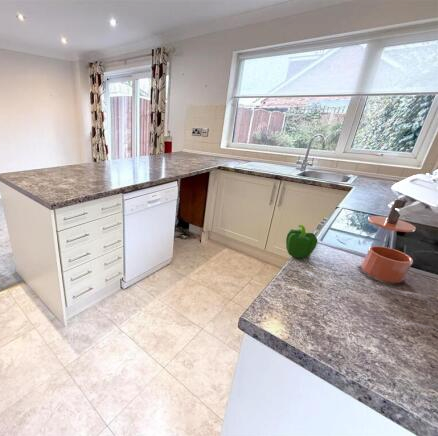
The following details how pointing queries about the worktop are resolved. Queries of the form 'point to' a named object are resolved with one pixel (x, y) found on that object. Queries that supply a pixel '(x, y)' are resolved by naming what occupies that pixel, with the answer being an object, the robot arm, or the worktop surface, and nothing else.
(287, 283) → the worktop surface
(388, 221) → the lid
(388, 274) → the pot
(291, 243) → the bell pepper
